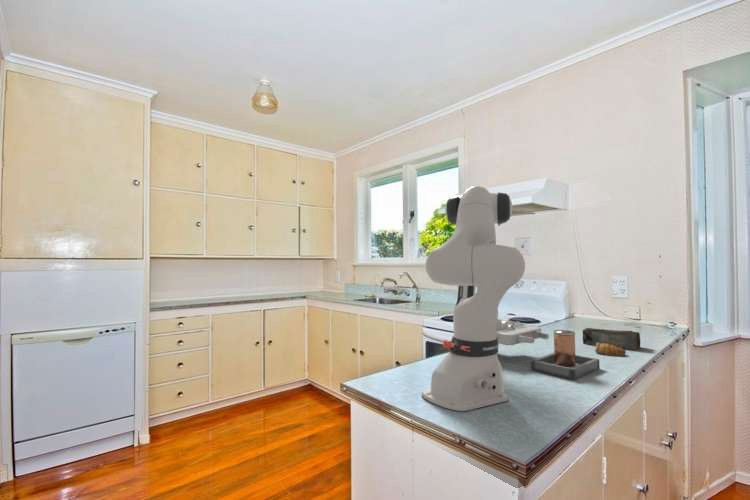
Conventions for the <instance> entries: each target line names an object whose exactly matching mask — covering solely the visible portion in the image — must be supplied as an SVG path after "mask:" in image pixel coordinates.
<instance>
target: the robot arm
mask: <svg viewBox="0 0 750 500" xmlns="http://www.w3.org/2000/svg"><path fill="white" fill-rule="evenodd" d="M513 207H514V206H513V202H512V199H511V198H510V195H508V194H507V193H506V192H505V193H504V192H497V193H496V192H490V191H489V190H488V189H486V188H485V187H482V186H477V185H475V186H471V187H469V188H468V187H467V189H466V190H465V191H464V192H463V193H462V194H461V195H460V194H456V195H453V196H450V197H449V198H448V199H447V201H446V204H445V209H444V210H445V211H444V212H445V216H446V218H447V221H448V222H449V223H450V224H451V225H455V228H454V231H453V233H452V235H450V237H449V238H448V239H447V240H446V241H444V243H442V244H440V245H439V246H437V247H434V248H433V249H432V250H431V251H430V252H429V253H428V255H427V258H426V261H425V269H426V270H425V271H426V273H427V275H428V276H427V277H429V279H430V280H431V281H432V283H435V284H440V285H445V286H454V287H455V286H456V287H457V286H458V287H457V289H458V290H457V299H456V303H455V306H454V309H453V313H452V315H453V316H452V317H453V319H452V320H453V335H452V337H451V340H447V339H444V340H443V342H442V347H443V348H444V349H445V348H446V349H448V351H449V352H448V353H447V354H446V356H445V357H444V358H443V360H442V361H440V363H439V364H438V365H437V367H435V368H434V370H433V371H432V374H431V380H430V386H429V387H427V388H425V389H424V390H422V391H421V396H422V397H423V399H425V400H426V401H428V402H430V403H432V404H434V405H436V406H439V407H442V408H445V409H449V410H453V411H456V412H457V411H458V412H466V411H467V412H468V411H471V410H474V409H475V410H476V409H480V408H483V407H488V406H492V405H495V404H500V403H505V402H508V401H509V396H508V394H507V393H506V392H505V387H504V386H505V385H504V377H503V367H502V364H501V362H500V361H499V358H498V352H499V345H504V346H514V345H517V344H525V343H526V344H534V343H535V340H537V339H543V340H549V338H550V337H549V334H548V333H546V332H542V328H541V327H539V326H536V325H532V324H526V323H521V322H520V321H514V320H513V321H512V320H505V319H498V318H499V305H500V303H501V301H502V299H503V297H504V296H505V294H506V293H507V292H508V291H509V290H510V289H511V288H512V287H513V286H515V285H516V284H517V283H519V282H520V281H521V280H522V278H523V277H524V273H525V270H526V263H525V259H524V258H525V257H523V254H522V253H521V251H520V250H519V249H517V248H516V247H512V246H509V245H508V246H507V245H501V244H497V236H496V225H495V224H497V225H498V226H501V225H502V224H505V223H507V222H508V221H509V220H510V218H511V217H512V214H513V210H514V208H513Z"/></svg>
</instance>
